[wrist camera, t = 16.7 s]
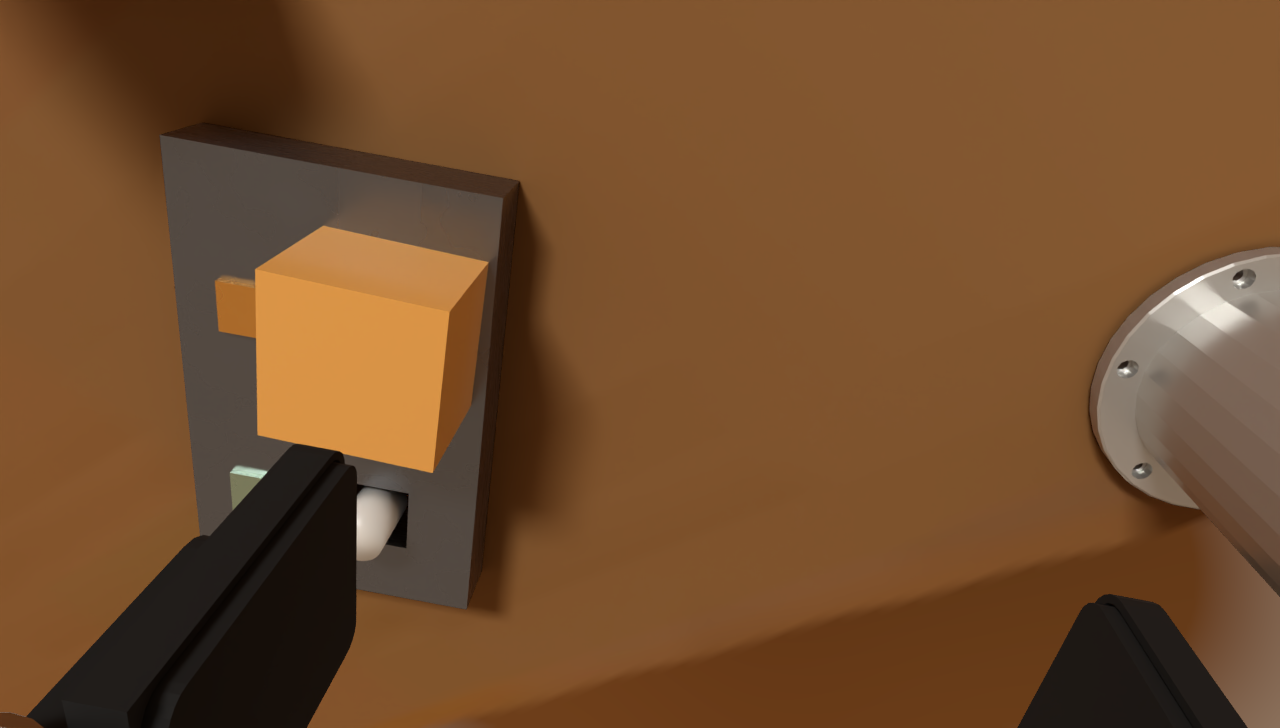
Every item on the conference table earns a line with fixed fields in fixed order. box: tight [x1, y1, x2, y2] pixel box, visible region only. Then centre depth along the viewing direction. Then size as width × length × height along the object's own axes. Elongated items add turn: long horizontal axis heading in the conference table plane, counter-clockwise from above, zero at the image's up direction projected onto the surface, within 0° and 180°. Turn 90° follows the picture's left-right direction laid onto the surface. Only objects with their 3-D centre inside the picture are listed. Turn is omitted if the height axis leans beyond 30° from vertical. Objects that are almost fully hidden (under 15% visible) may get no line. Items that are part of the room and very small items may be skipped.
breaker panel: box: [160, 123, 519, 609], centre depth 38 cm, size 14×22×3 cm, turn 171°
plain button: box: [357, 485, 407, 561], centre depth 39 cm, size 2×2×3 cm
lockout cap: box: [255, 226, 489, 473], centre depth 32 cm, size 7×7×6 cm
